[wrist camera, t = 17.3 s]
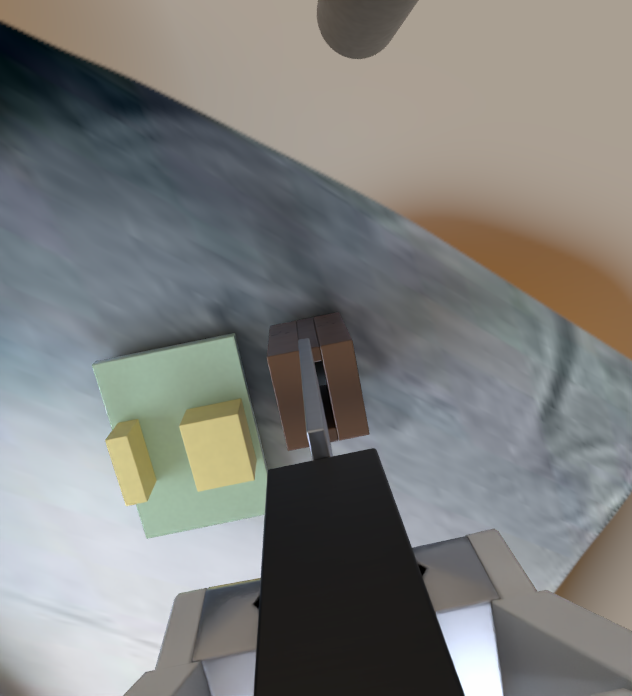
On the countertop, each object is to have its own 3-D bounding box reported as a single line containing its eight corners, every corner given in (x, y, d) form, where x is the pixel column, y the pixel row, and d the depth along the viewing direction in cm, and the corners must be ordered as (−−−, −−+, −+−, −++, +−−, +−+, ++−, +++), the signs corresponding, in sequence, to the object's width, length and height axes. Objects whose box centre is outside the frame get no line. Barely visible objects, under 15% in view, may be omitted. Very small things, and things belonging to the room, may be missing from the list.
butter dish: (96, 361, 40) (91, 365, 39) (235, 332, 40) (233, 336, 39) (149, 531, 44) (146, 539, 43) (276, 505, 44) (276, 512, 43)
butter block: (186, 409, 40) (178, 425, 37) (241, 397, 40) (238, 413, 37) (203, 471, 42) (197, 492, 39) (257, 460, 42) (254, 480, 39)
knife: (269, 345, 20) (229, 755, 5) (337, 331, 20) (479, 702, 5) (290, 436, 21) (302, 994, 6) (354, 423, 21) (516, 950, 6)
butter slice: (117, 422, 40) (104, 440, 37) (138, 418, 40) (127, 435, 37) (136, 484, 42) (125, 506, 39) (156, 480, 42) (147, 502, 39)
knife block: (269, 325, 40) (266, 357, 32) (339, 311, 40) (352, 339, 32) (287, 403, 42) (287, 451, 34) (354, 390, 42) (369, 434, 34)
